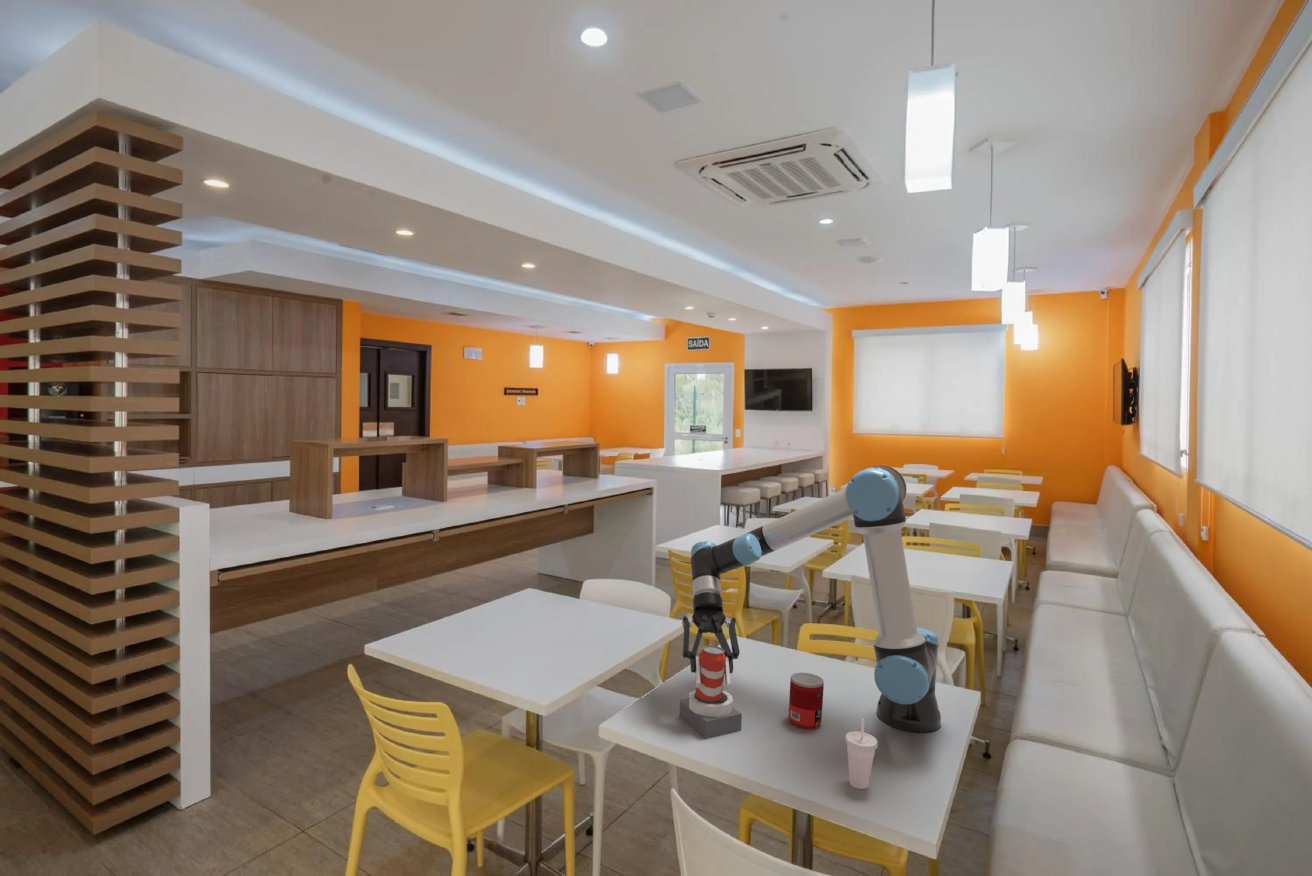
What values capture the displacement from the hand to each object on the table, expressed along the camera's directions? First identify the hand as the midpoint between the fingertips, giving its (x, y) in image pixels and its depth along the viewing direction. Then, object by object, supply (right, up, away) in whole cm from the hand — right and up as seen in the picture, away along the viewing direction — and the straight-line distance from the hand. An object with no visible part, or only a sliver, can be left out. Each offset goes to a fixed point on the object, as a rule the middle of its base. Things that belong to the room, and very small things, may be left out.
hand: (713, 685), depth 160 cm
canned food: (+23, -12, +7) cm, 27 cm away
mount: (-1, -11, +4) cm, 11 cm away
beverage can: (-1, -4, +3) cm, 6 cm away
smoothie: (+28, -13, -20) cm, 37 cm away
